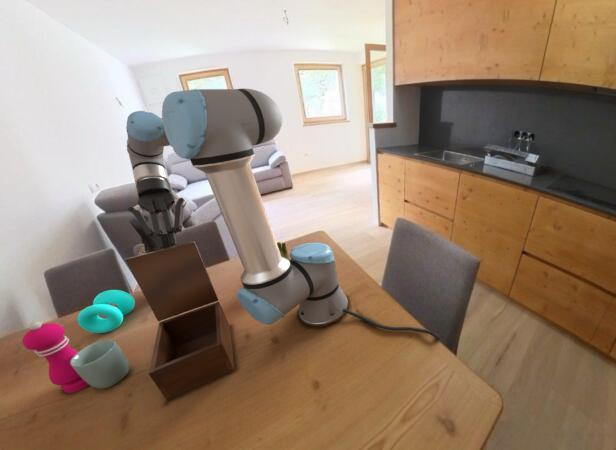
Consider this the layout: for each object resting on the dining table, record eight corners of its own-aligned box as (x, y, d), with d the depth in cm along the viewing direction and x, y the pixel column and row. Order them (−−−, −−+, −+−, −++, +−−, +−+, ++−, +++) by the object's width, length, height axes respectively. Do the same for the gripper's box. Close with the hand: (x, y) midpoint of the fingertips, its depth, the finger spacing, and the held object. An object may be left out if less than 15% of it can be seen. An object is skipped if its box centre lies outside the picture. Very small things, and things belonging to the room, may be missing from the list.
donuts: (142, 308, 94) (128, 284, 90) (126, 329, 85) (110, 305, 81) (106, 315, 92) (90, 292, 87) (86, 338, 83) (67, 313, 78)
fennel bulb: (293, 266, 112) (286, 240, 107) (284, 273, 108) (276, 246, 103) (282, 263, 115) (275, 238, 109) (273, 270, 111) (265, 244, 105)
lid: (194, 242, 73) (194, 241, 73) (125, 259, 66) (126, 258, 67) (218, 300, 80) (218, 299, 80) (157, 321, 73) (158, 319, 74)
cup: (108, 396, 66) (86, 369, 62) (84, 391, 68) (60, 363, 63) (141, 367, 73) (123, 340, 69) (119, 363, 75) (99, 336, 70)
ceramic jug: (148, 287, 104) (107, 215, 91) (196, 270, 113) (165, 202, 100) (151, 310, 93) (105, 231, 79) (204, 289, 102) (171, 215, 89)
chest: (234, 370, 71) (221, 343, 67) (167, 401, 64) (148, 373, 60) (230, 326, 85) (219, 301, 80) (174, 348, 78) (159, 322, 74)
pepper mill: (65, 400, 66) (9, 341, 57) (58, 385, 69) (4, 327, 61) (105, 376, 71) (60, 318, 62) (97, 363, 75) (53, 307, 66)
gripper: (184, 185, 87) (202, 253, 82) (130, 194, 81) (146, 268, 76) (175, 172, 81) (195, 245, 75) (117, 181, 75) (133, 261, 69)
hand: (170, 256), depth 76 cm, fingers closed
